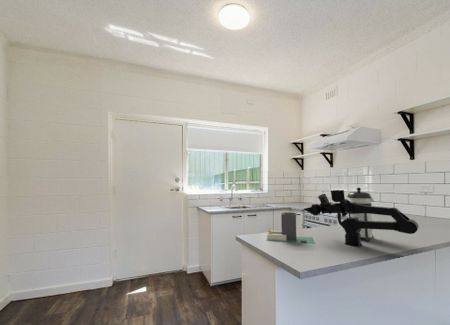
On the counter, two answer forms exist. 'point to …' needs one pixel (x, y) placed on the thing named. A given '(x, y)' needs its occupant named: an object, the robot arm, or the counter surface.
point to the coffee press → (362, 199)
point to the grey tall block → (288, 225)
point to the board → (282, 238)
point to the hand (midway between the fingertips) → (307, 208)
